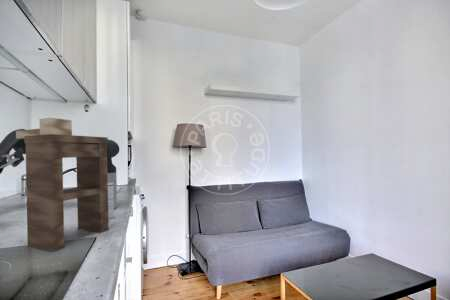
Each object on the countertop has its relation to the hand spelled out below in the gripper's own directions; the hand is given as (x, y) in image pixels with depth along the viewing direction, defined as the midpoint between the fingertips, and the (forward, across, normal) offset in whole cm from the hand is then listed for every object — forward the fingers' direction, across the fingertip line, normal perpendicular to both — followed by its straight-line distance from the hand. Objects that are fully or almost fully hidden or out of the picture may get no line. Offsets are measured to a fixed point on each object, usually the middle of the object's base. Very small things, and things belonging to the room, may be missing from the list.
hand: (6, 150), depth 76 cm
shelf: (+8, -4, -37) cm, 38 cm away
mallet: (+17, 0, -6) cm, 18 cm away
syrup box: (+2, -22, -34) cm, 40 cm away
